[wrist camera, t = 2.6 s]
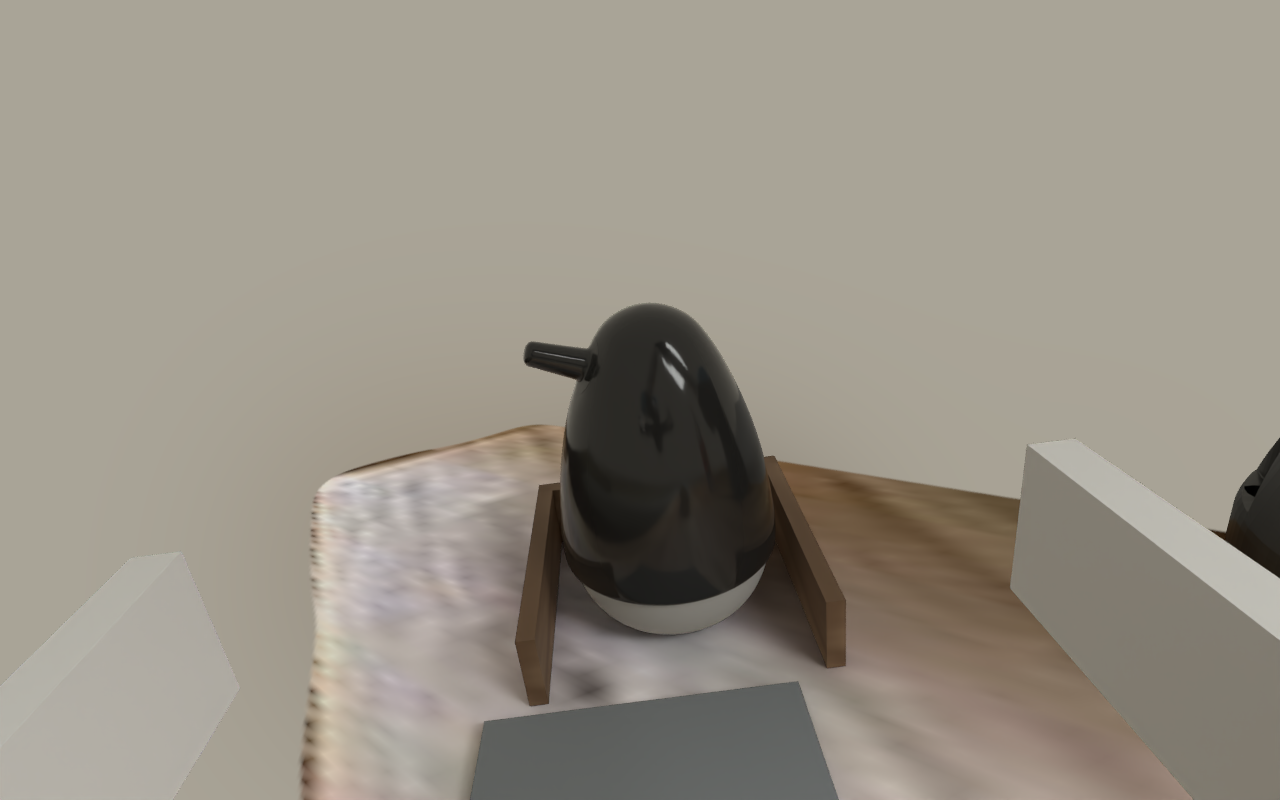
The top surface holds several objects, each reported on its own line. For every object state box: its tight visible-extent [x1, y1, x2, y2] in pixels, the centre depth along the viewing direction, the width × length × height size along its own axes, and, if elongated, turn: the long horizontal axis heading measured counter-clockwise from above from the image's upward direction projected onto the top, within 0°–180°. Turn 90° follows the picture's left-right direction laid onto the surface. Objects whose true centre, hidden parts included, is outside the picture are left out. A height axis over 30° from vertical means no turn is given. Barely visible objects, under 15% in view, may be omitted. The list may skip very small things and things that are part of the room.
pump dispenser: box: [523, 303, 776, 635], centre depth 33 cm, size 10×10×15 cm
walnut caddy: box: [515, 456, 846, 706], centre depth 35 cm, size 14×13×4 cm
